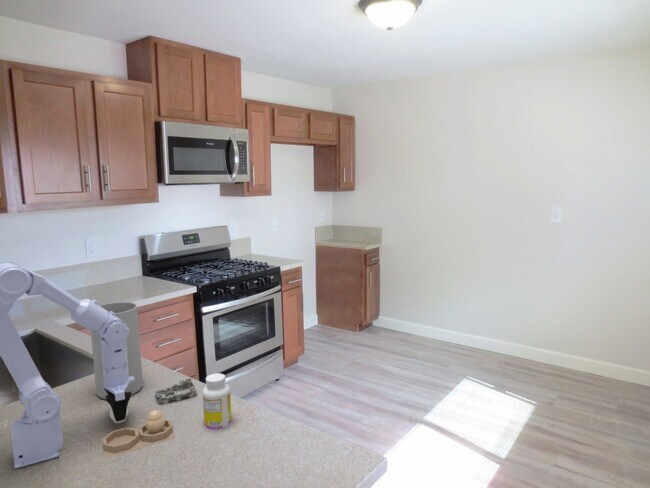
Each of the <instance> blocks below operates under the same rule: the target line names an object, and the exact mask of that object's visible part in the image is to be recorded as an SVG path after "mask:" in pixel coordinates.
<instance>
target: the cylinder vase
mask: <svg viewBox="0 0 650 488" xmlns="http://www.w3.org/2000/svg"><path fill="white" fill-rule="evenodd" d="M99 306H100V307H102V308H104V309H105V310H107V311H108V312H110V311H112V312H113V313H115V316H116V317H117V318H119V319H121V320H123V321H124V322H125V323H126V324H127V326H128V329H130V331H129V335H128V337H127V338H126V345H127V357H128V370H129V377H131V376H133V377H134V381H133V382H130V383H129V385H128V387H127V388H126V392H130V391H131V393H132V395H131V396H133V395H135V394H137V393H138V392H140V390H142V388H143V385H144V380H143V379H144V377H143V366H142V365H143V364H142V354H141V353H142V352H141V339H140V337H141V336H140V324H139V312H138V304H137V303H135V302H130V301H129V302H126V301H124V302H123V301H119V302H109V303H105V304H100V305H99ZM90 337H91V338H90V339H91V349H92V359H93V370H94V382H95V391H96V395H97V397H99V398H100V399H103V400H106V395H108V394H107V392H106V391H105V390H104V387H103V383H104V377H103V365H102V353H101V338H102V337H101V336H98V335H97V333H94V332H92V331H90Z"/></svg>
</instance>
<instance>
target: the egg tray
mask: <svg viewBox="0 0 650 488" xmlns="http://www.w3.org/2000/svg"><path fill="white" fill-rule="evenodd" d="M173 427H174V426H173V424H172V421H171V419H166V418H165V425H164V427H163V429H162V432H160V433H157V434H153V435H150V432H149V431H148V430H147V429H146V425H145V423H144V424H143V425H141V426H140V427H138V428H132V427H122V428H119V429H115V430H112V431H111V432H109V433H108V434H107V435H106V436H104V437H102V438H101V439H102V445H103V452H104V459H108V458H112V457H115V456H118V455H119V456H120V455H122V454H125V453H128V452H132V451H135V450H140V449H143V448H146V447H149V446H152V445H156V444H161V443H163V442H166V441H169V440H173V439H176V438H177V437H176V434H175V432H174V428H173Z"/></svg>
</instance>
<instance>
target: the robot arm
mask: <svg viewBox="0 0 650 488" xmlns="http://www.w3.org/2000/svg"><path fill="white" fill-rule="evenodd" d="M24 294H26V295H27V296H43V298H46V299H47V300H50V301H51V302H52V303H55V304H57V305H58V306H60V307H61V308H63V309H65V310H67V311H69V313H70V318H71V320H72V321H73V322H75V323H76V324H79V325H80V326H82V327H83V328H85V329H87V330H89V331H90V332H91V331H92V332H94V333H97V335H98V336H101V337H102V338H101V353H102V365H103V377H104V383H103V387H104V390H105V391H106V392H107V394H108V395H106V399H105V400H106V402H107V403H108V404H109V406H110V409H111V408H112V410H113V414H114V417H115V420H116V422H117V421H121V420H125V418H126V419H127V417H126V412H127V406H128V405H129V401H130V400H131V397H132V396H133V395H132V393H131V391H130V392H126V388H127V387H128V385H129V383H130V382H133V381H134V377H133V376H131V377H129V370H128V357H127V345H126V338H127V337H128V335H129V331H130V329H128V326H127V324H126V323H125V322H124V321H123V320H121V319H119V318H117V317H116V316H115V313H113V312H112V311H110V312H108V311H107V310H105V309H104V308H102V307H100V305H99V304H100V302H99V301H98V300H96V299H95V298H94V299H89V298H85V299H78V298H76V297H75V296H73V295H72V294H71V293H69V292H67V290H64V289H63V288H62V287H60V286H59V285H57V284H55V283H54V282H52V281H51V280H50V279H48V278H46V277H45V276H44V275H41V274H40V273H39V274H38V273H36V272H34V271H32V270H30V269H28V268H25V267H21V266H20V265H18V264H17V263H15V262H13V261H10V260H8V261H0V357H1V359H2V361H3V362H4V364H5V366H6V368H7V370H8V372H9V374H10V376H11V377H12V379H13V380H14V383H15V385H16V386H17V388H18V393H19V395H18V400H19V403H20V405H22V407H24V411H23V413H22V416H21V418H19V419H16V420H13V421H12V422H11V424H10V425H11V428H10V429H11V430H10V432H11V433H10V435H11V436H10V437H11V447H12V448H11V449H12V455H13V462H14V469H19V468H21V467H22V468H23V467H25V466H29V465H30V466H31V465H33V464H37V463H40V462H41V463H42V462H43V461H48V460H51V459H55V458H59V457H60V449H61V448H63V446H64V437H63V426H62V419H61V418H62V417H61V405H62V400H61V398H60V397H59V395H58V394H56V392H55V391H53V389H52V386H51V385H50V384H49V383H48V382H46V381H45V380H44V378H43V377H42V375H41V374H40V371H39V369H38V367H37V366H36V364H35V362H34V360H33V358H32V357H31V355H30V352H29V351H28V349H27V347H26V345H25V344H24V342H23V340H22V337H21V336H20V334H19V332H18V330H17V328H16V327H15V324H14V323H13V321H12V319H11V317H10V316H9V312H10V310H11V309H12V307H13V305H15V302H17V300H18V299H20V298H21V297H22V296H23V295H24ZM125 421H126V420H125Z"/></svg>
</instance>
